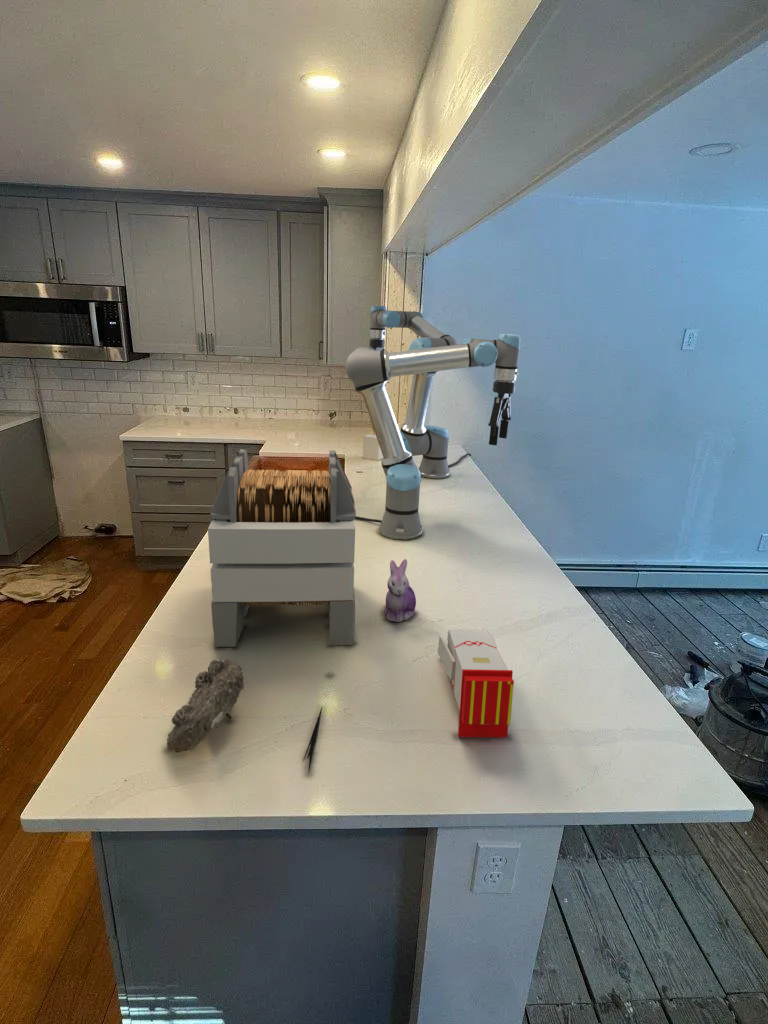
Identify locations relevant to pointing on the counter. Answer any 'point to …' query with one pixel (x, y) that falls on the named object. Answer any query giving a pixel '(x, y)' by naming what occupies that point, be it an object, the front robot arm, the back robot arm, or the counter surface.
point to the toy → (478, 682)
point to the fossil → (206, 705)
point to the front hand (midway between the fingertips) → (497, 441)
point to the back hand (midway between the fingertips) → (375, 382)
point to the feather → (313, 740)
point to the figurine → (399, 594)
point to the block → (371, 448)
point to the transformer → (282, 546)
